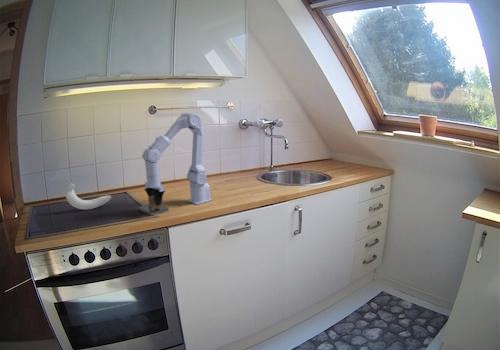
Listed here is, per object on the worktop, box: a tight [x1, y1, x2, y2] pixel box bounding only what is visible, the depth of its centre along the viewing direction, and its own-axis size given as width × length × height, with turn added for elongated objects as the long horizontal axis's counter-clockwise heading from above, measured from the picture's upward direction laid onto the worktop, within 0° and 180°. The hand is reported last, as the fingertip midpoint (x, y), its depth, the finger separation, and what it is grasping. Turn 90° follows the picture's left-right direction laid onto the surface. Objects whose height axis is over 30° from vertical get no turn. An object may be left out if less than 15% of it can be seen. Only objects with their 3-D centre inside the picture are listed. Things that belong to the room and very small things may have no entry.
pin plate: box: [138, 199, 170, 216], centre depth 153 cm, size 9×12×4 cm
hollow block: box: [147, 196, 164, 209], centre depth 150 cm, size 5×5×5 cm
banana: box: [65, 182, 112, 211], centre depth 156 cm, size 5×19×15 cm, turn 123°
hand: (155, 203), depth 150 cm, fingers open, 5 cm apart
